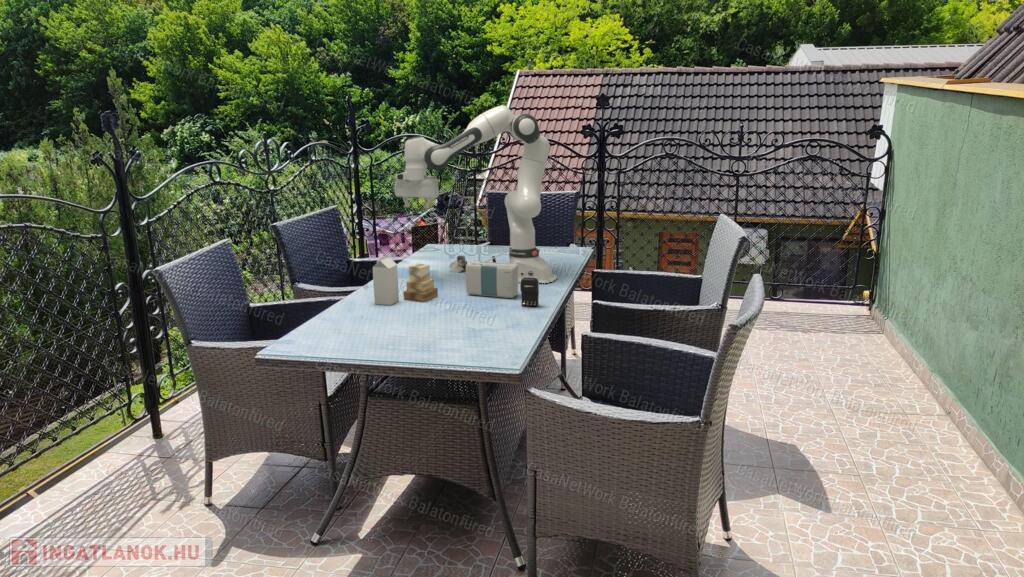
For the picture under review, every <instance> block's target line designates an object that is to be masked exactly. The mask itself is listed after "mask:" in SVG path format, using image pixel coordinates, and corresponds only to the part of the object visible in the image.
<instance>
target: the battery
mask: <svg viewBox="0 0 1024 577" xmlns="http://www.w3.org/2000/svg"><path fill="white" fill-rule="evenodd" d="M519 287H520V292H521V293H520V294H521V306H522V307H526V306H537V307H538V306H539V305H540V304H539V303H540V302H539V301H540V300H539V298H540V284H539V280H538V278H536V277H523V278H522V280H521V283H520V286H519Z"/></svg>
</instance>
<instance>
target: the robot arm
mask: <svg viewBox="0 0 1024 577" xmlns="http://www.w3.org/2000/svg"><path fill="white" fill-rule="evenodd" d="M504 132H507V133H508V134H509V135H510V136H511V137H512V138H513V139H515V140H516V141H520V142H522V143H523V144H522V145H523V152H522V154H521V159H520V163H519V167H518V170H517V175H516V176H517V178H516V179H517V189H514V190H512V191H510V192H508V193H507V194H506V195H505V198H504V205H505V209H506V214H507V215H506V216H507V220H508V227H509V242H510V243H509V250H510V251H509V250H508V251H509V253H508V254H509V255H508V256H509V264H518V284H521V280H522V278H523V277H536V278H538V280H539V283H542V284H541V285H544V284H545V283H548V284H550V283H549V282H552V283H554V282H555V281H557V280H558V275H556V274H553V271H552V270H553V269H552V266H551V264H550V263H549V262H548V261H546V260H545V259H544V258H543V257H541V255H540V252H541V251H540V250H541V248H537V247H536V230H535V226H534V223H533V219H534V218H535V217H537V216H538V215H539V214H540V213H541V210H542V203H541V194H542V190H541V189H542V183H543V178H544V174H545V170H546V165H547V162H548V157H549V154H550V152H549V151H550V141H549V140H548V138H547V137H545V136H544V135H541V132H540V128H539V123H538V121H537V119H536V118H535V116H533V115H531V114H530V113H521V114H518V115H515V114H513V112H512V111H511V109H510V108H509V107H508V106H507V105H504V104H503V105H502V104H501V105H497V106H495V107H492V108H491V109H488V110H486V111H484V112H482V113H481V114H479V115H477V116H476V117H475V118H473V120H471V121H470V122H469V123H468V125H467V127H466V129H465V130H464V131H462V132H461V134H459V135H457V136H455V137H454V138H452V139H450V140H448V141H446V143H443V144H438V143H435V142H432V141H430V140H428V139H426V138H425V137H423V136H422V135H420V136H419V135H418V136H413V137H408V138H407V140H406V141H405V142H404V160H405V168H404V171H403V172H401V173H397V174H395V176H394V177H395V181H394V195H395V197H398V198H399V197H401V198H402V200H403V202H404V205H405V208H411V202H409V201H408V199H409V198H423V199H426V200H425V201H427V202H426V203H425V204H424V209H430V204H431V202H432V200H433V199H436V198H438V197H440V189H439V179H438V178H437V177H435V175H427V167H428V168H430V169H431V170H435V171H441V170H443V169H445V168H446V167H447V166H448V165H449V163H450V162H451V160H452V158H454V157H455V156H457V155H459V154H460V153H463V152H464V151H465V150H467V149H468V148H470V147H473V146H476V145H479V144H482V143H484V142H487V141H490V140H491V139H494V138H495V137H496V136H498V135H500V134H502V133H504ZM532 218H533V219H532ZM513 248H515V249H513ZM556 279H557V280H556ZM554 280H555V281H554ZM553 281H554V282H553ZM543 283H544V284H543ZM545 285H546V284H545Z"/></svg>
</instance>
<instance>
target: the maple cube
mask: <svg viewBox="0 0 1024 577" xmlns="http://www.w3.org/2000/svg"><path fill="white" fill-rule="evenodd" d="M430 270H431V269H430V264H426V263H418V262H417V263H414V264H412V265H408V278H409V279H408V281H414V282H421V283H422V282H424V281H427V280H429V279H431V271H430Z"/></svg>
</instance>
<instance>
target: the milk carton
mask: <svg viewBox="0 0 1024 577" xmlns="http://www.w3.org/2000/svg"><path fill="white" fill-rule="evenodd" d="M398 274H399V273H398V264H397V263H396V262H395V260H393V259H392V258H391V257H390V254H389V253H387V254H385V255H383V256H380V257H379V259H377V260H376V263H375V264H374V265H373V266H372V282H373V283H372V284H373V294H374V296H373V297H374V305H384V306H392V305H395V304H396V303H397V302H399V301H400V294H399V293H400V291H399V276H398Z"/></svg>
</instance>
